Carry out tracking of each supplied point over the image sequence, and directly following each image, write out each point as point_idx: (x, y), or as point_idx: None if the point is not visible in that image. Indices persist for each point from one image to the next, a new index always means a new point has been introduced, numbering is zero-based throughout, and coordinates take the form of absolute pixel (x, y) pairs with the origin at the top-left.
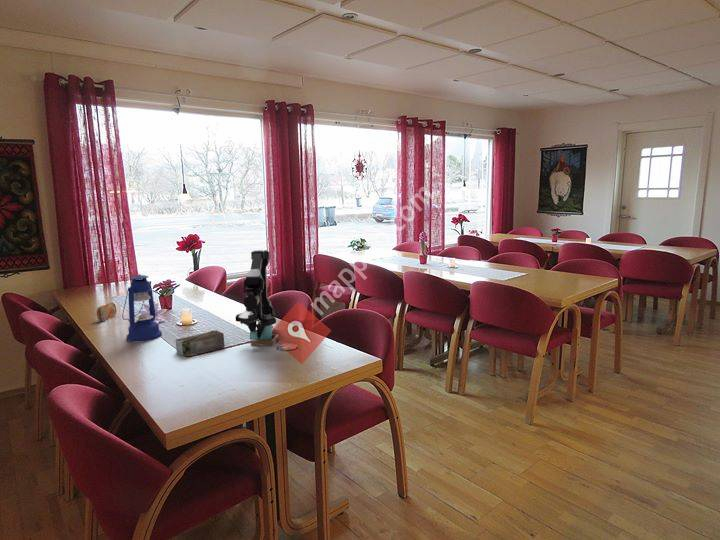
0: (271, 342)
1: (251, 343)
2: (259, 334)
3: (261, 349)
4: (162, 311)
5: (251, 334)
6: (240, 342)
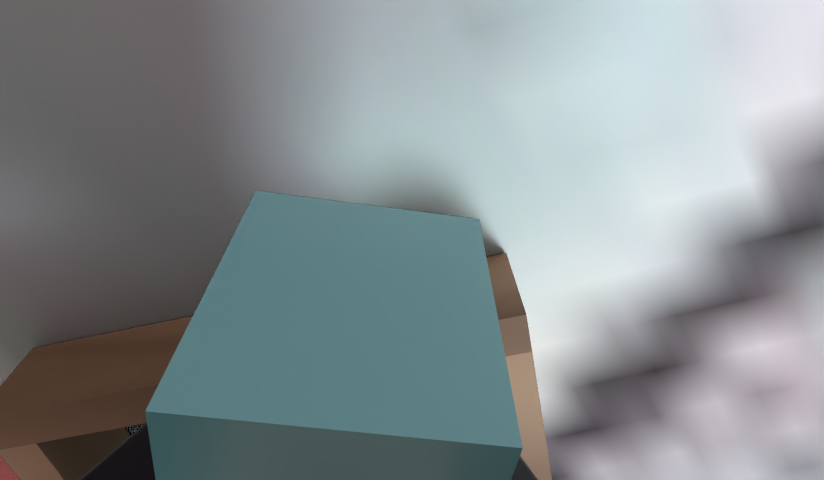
0: (21, 390)
1: (498, 276)
2: (109, 471)
3: (65, 54)
4: None
5: (392, 344)
6: (807, 329)
